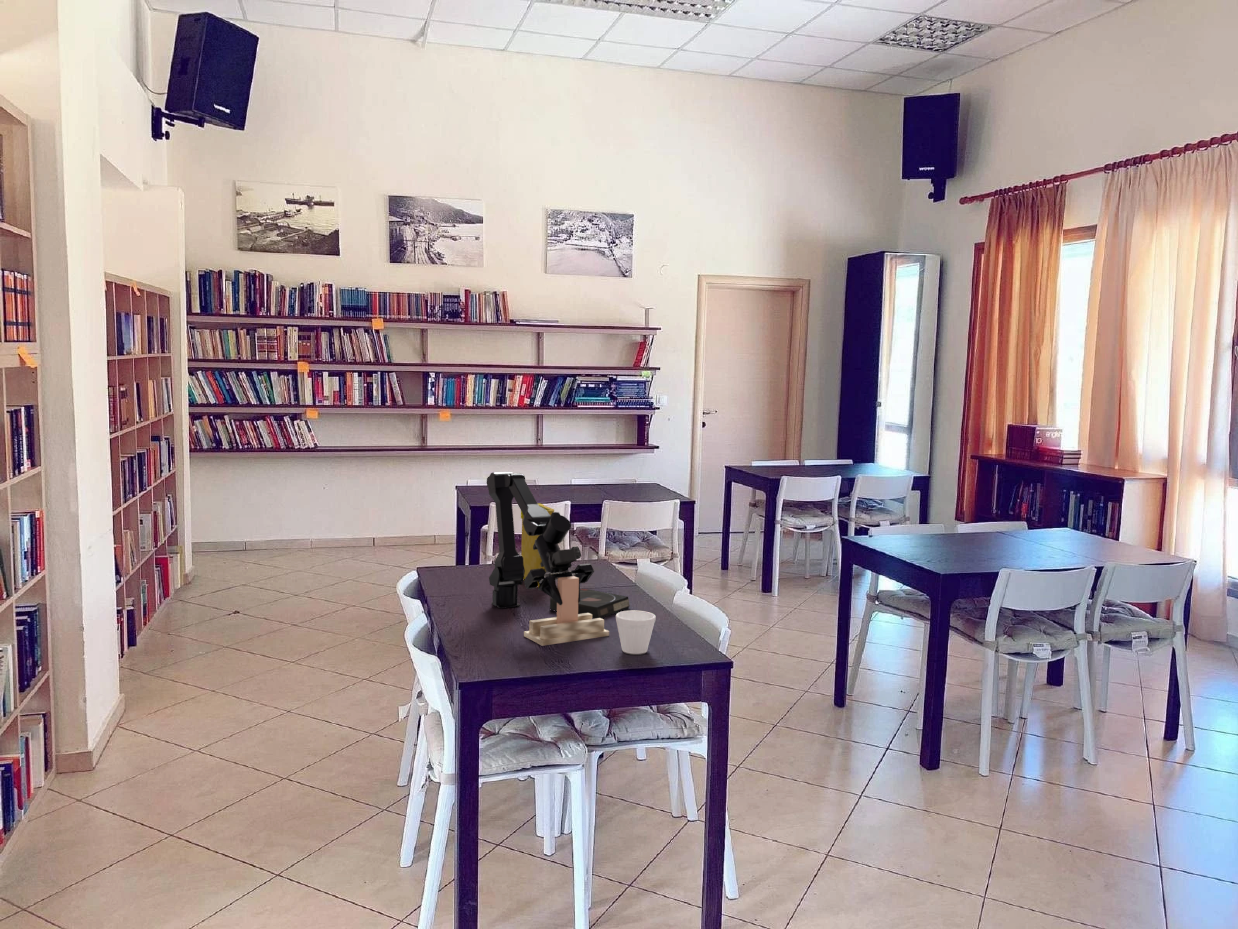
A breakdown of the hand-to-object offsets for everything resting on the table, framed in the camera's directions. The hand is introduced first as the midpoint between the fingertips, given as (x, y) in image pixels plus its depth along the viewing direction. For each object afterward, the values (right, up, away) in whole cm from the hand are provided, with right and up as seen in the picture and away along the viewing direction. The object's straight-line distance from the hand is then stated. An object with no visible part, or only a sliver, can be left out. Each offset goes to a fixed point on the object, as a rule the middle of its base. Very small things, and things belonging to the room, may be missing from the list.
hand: (570, 603), depth 242 cm
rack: (-1, -9, +2) cm, 9 cm away
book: (-14, -3, +64) cm, 65 cm away
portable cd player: (+4, -7, +30) cm, 32 cm away
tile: (-1, -6, +2) cm, 7 cm away
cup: (+17, -11, -10) cm, 22 cm away
